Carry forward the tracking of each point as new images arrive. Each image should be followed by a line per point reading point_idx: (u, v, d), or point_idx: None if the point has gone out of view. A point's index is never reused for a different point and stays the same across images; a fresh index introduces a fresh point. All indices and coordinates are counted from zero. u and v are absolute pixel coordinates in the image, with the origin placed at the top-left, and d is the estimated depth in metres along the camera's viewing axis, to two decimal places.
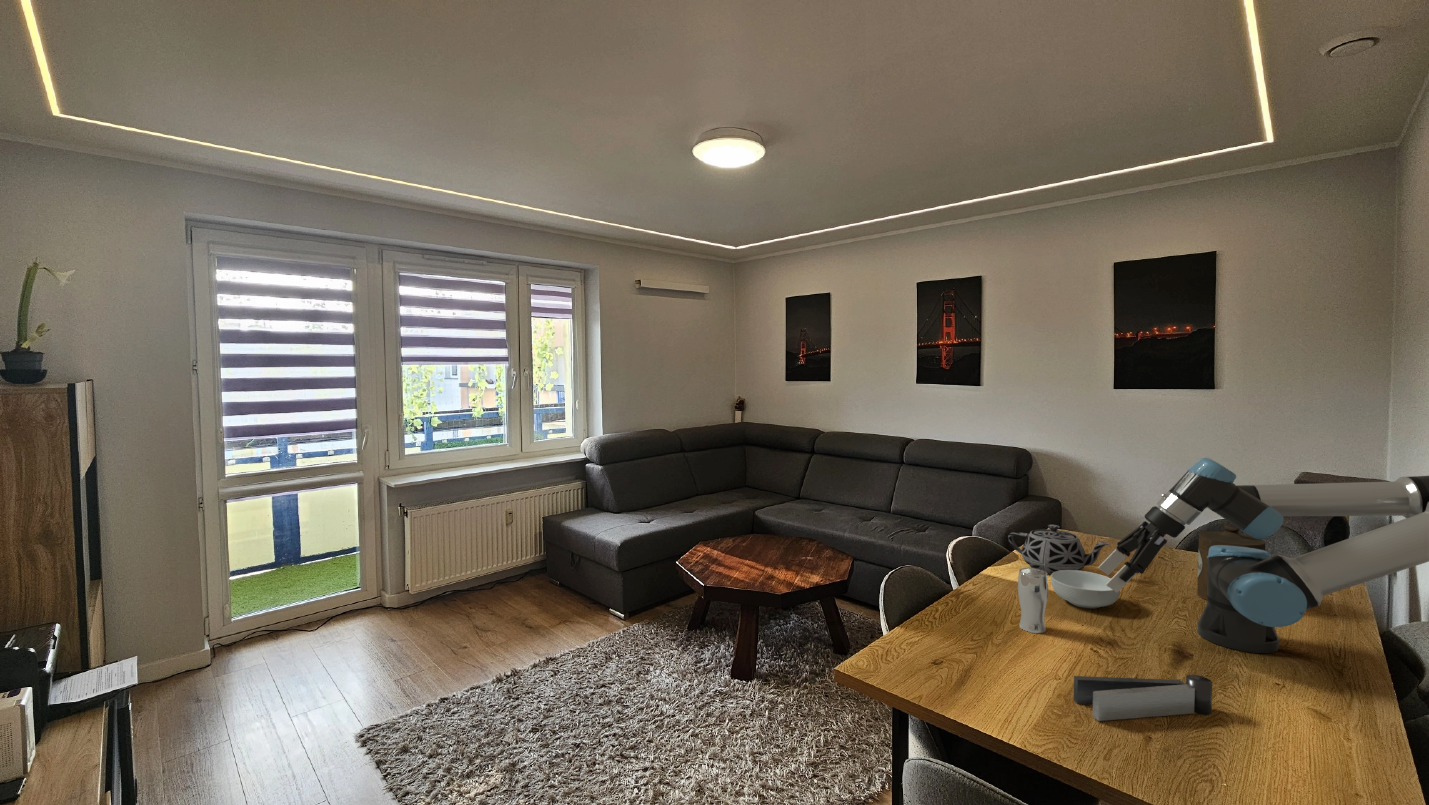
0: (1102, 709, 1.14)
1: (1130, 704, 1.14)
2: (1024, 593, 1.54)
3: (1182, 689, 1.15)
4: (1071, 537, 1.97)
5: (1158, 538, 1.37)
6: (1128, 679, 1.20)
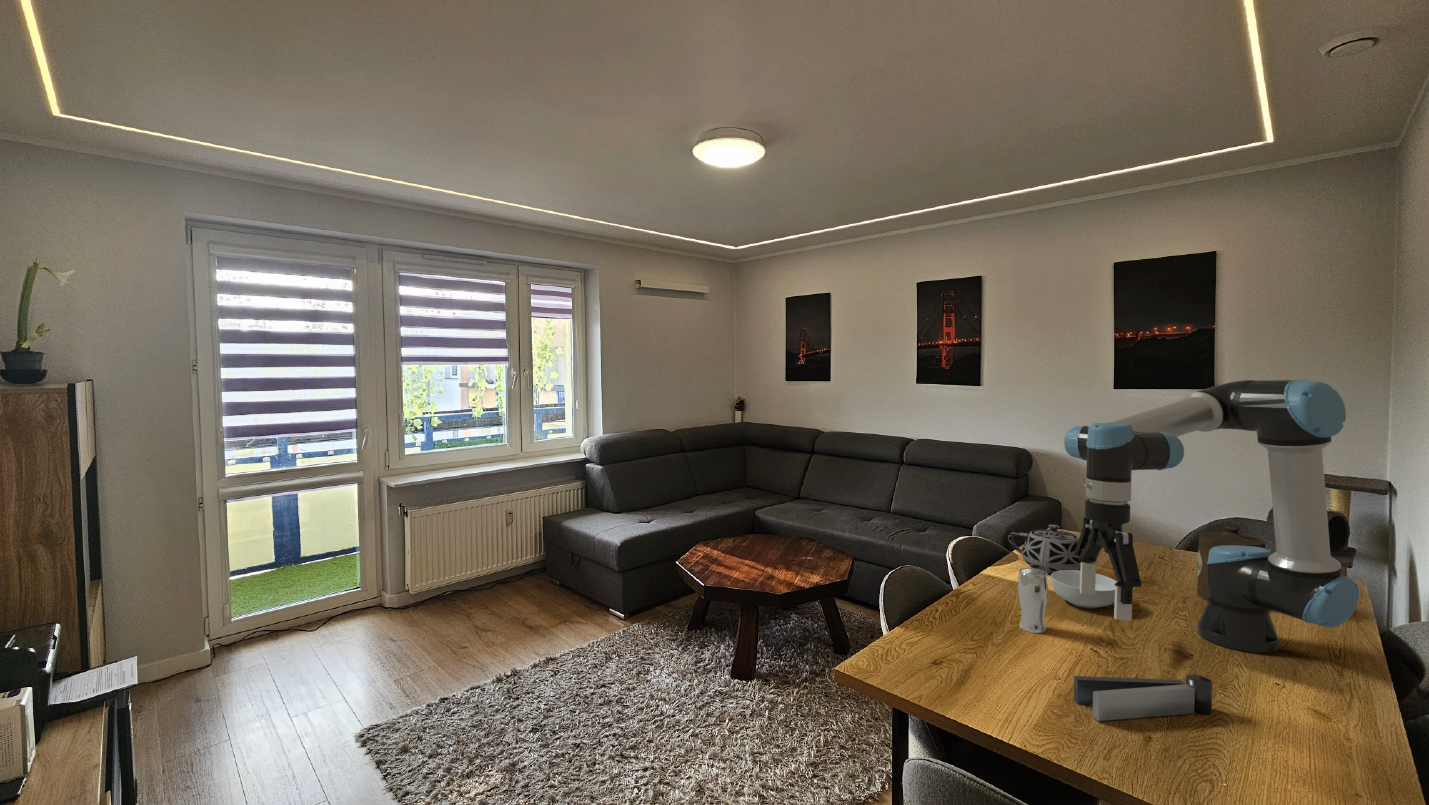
0: (1102, 709, 1.14)
1: (1130, 704, 1.14)
2: (1024, 593, 1.54)
3: (1182, 689, 1.15)
4: (1071, 537, 1.97)
5: (1123, 536, 1.12)
6: (1128, 679, 1.20)
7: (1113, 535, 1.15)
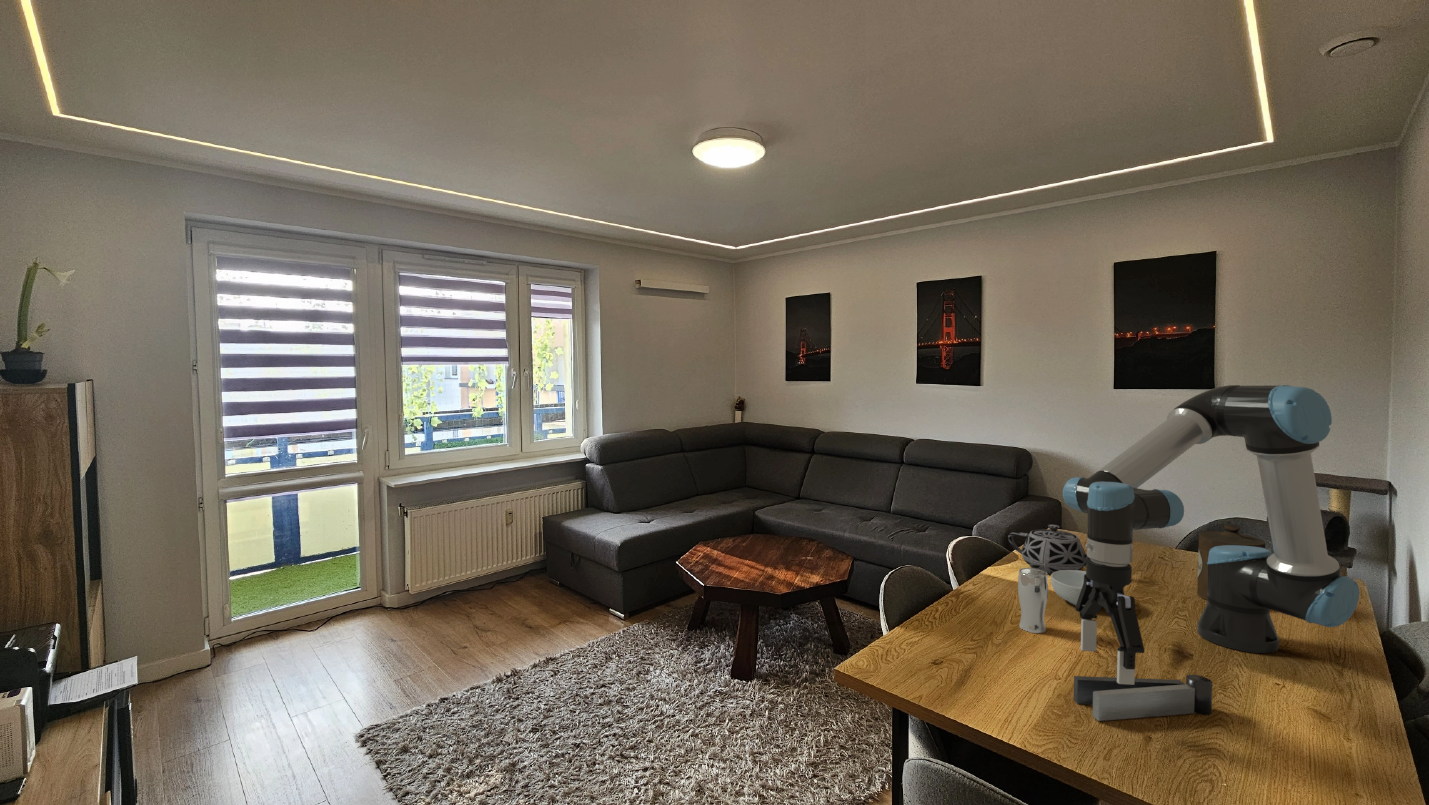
0: (1102, 709, 1.14)
1: (1130, 704, 1.14)
2: (1024, 593, 1.54)
3: (1182, 689, 1.15)
4: (1071, 537, 1.97)
5: (1125, 601, 1.12)
6: None
7: (1115, 598, 1.14)
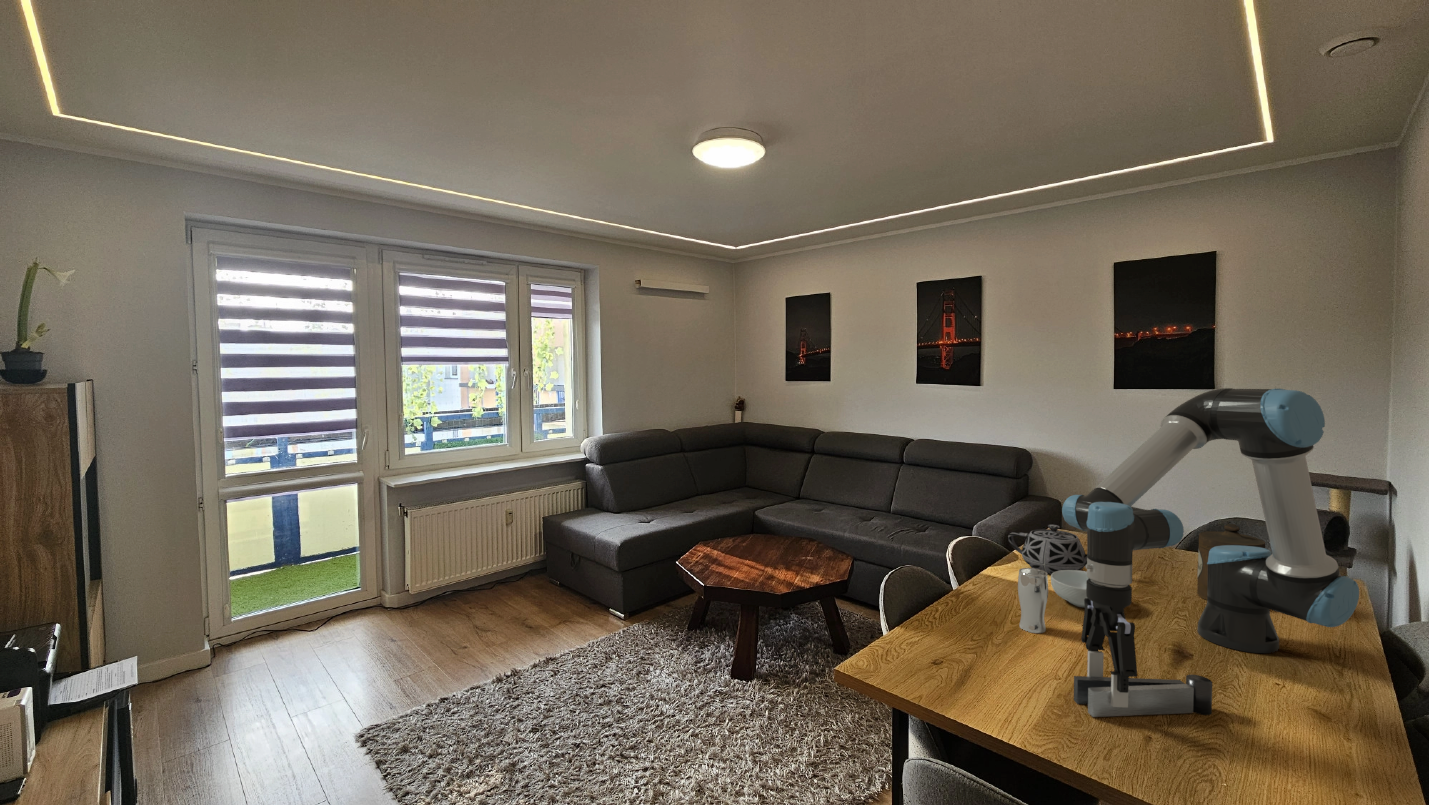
0: (1097, 705, 1.15)
1: None
2: (1024, 593, 1.54)
3: (1180, 688, 1.16)
4: (1071, 537, 1.97)
5: (1125, 628, 1.12)
6: None
7: (1115, 619, 1.14)
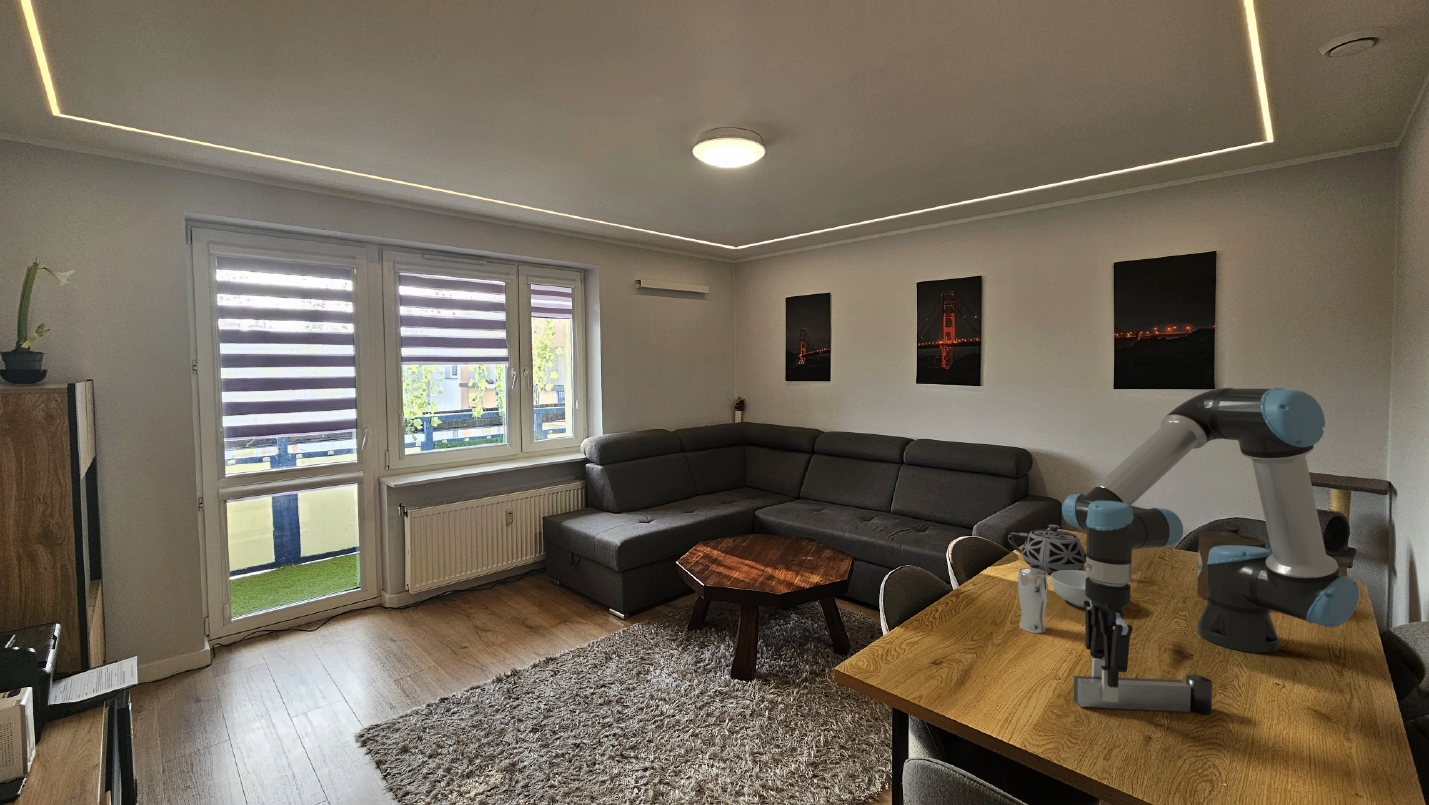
0: (1085, 696, 1.19)
1: None
2: (1024, 593, 1.54)
3: (1176, 686, 1.16)
4: (1071, 537, 1.97)
5: (1122, 630, 1.12)
6: (1128, 679, 1.20)
7: (1114, 617, 1.15)
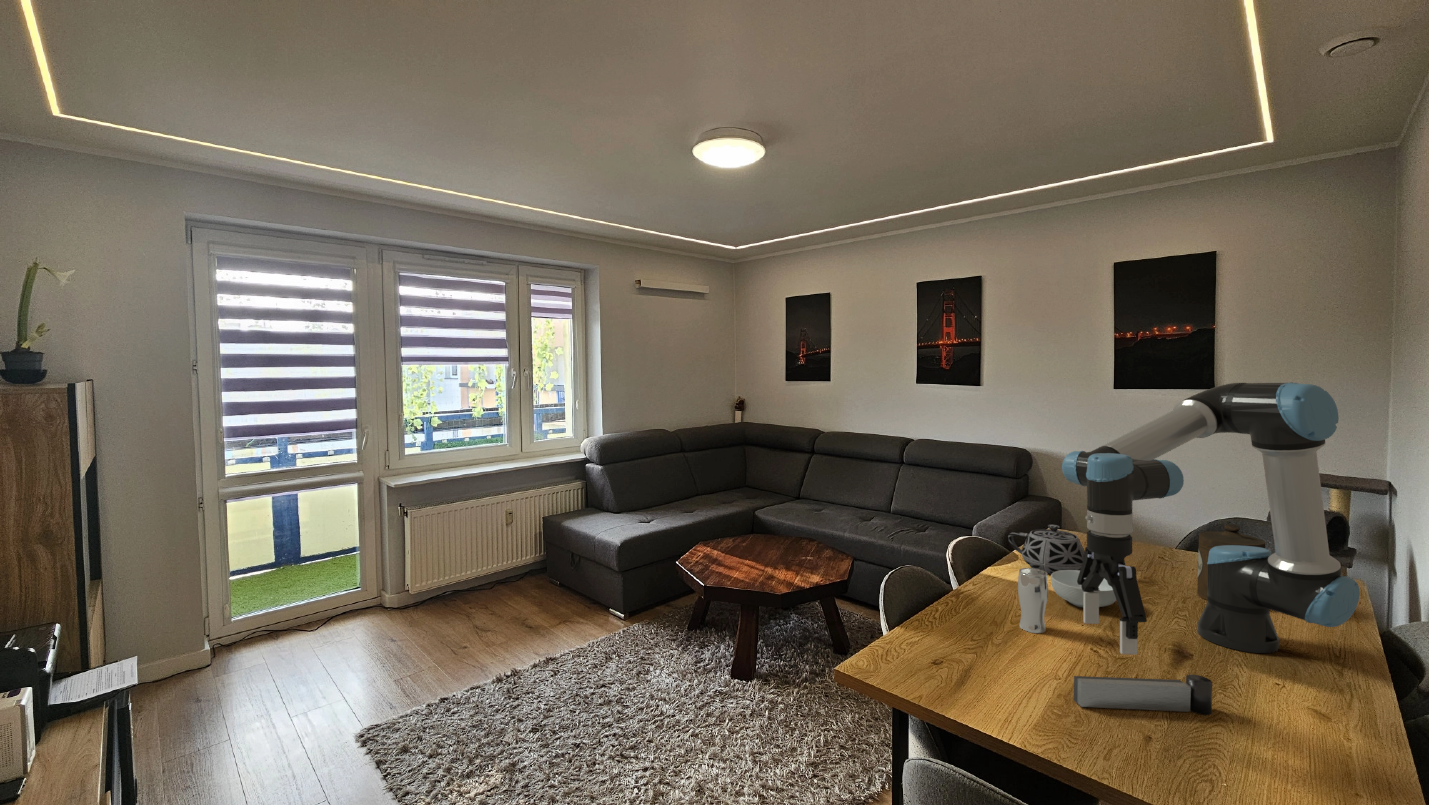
0: (1085, 696, 1.19)
1: (1116, 694, 1.18)
2: (1024, 593, 1.53)
3: (1176, 686, 1.16)
4: (1071, 537, 1.97)
5: (1126, 571, 1.11)
6: (1128, 679, 1.20)
7: (1116, 568, 1.14)
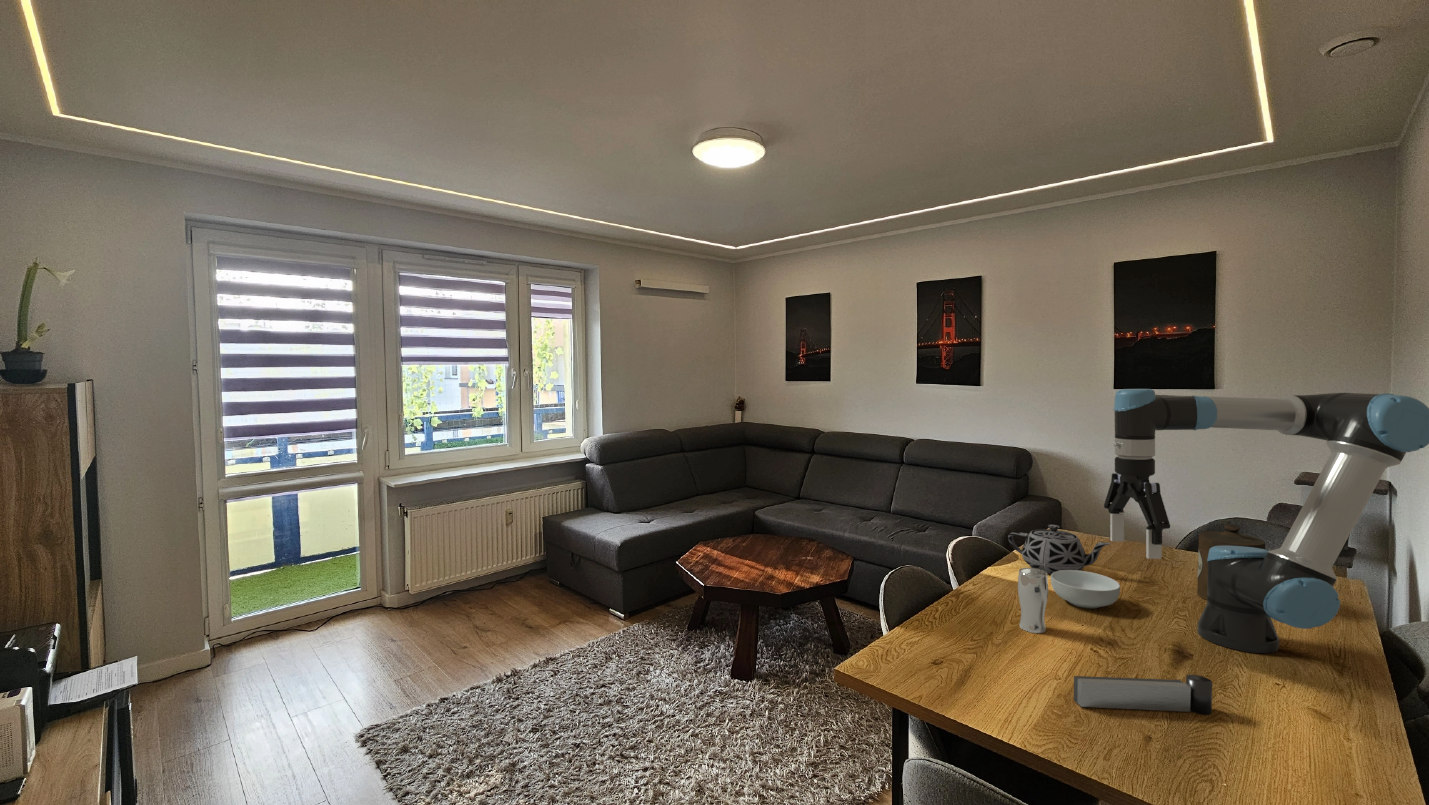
0: (1085, 696, 1.19)
1: (1116, 694, 1.18)
2: (1024, 593, 1.54)
3: (1176, 686, 1.16)
4: (1071, 537, 1.97)
5: (1151, 486, 1.29)
6: (1128, 679, 1.20)
7: (1142, 486, 1.32)
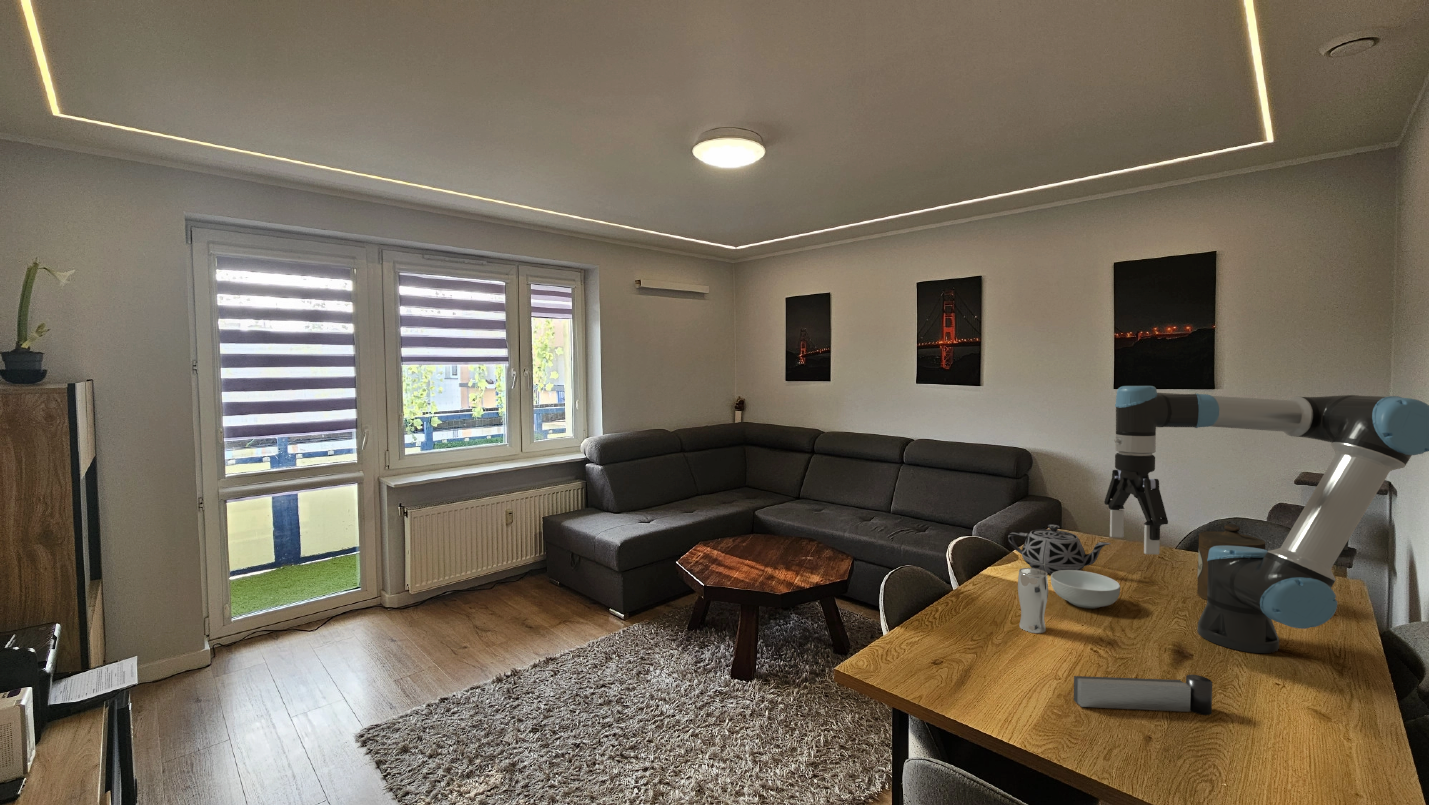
0: (1085, 696, 1.19)
1: (1116, 694, 1.18)
2: (1024, 593, 1.54)
3: (1176, 686, 1.16)
4: (1071, 537, 1.97)
5: (1150, 482, 1.30)
6: (1128, 679, 1.20)
7: (1141, 482, 1.33)
